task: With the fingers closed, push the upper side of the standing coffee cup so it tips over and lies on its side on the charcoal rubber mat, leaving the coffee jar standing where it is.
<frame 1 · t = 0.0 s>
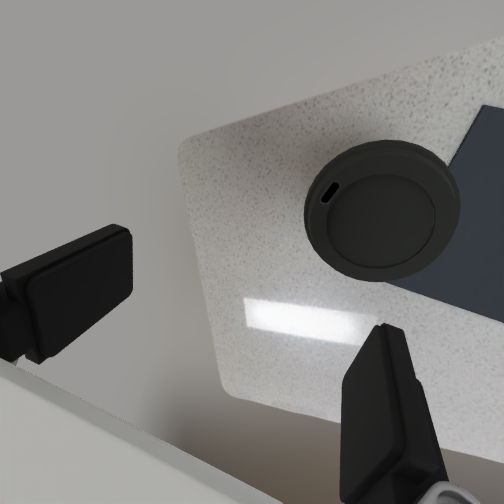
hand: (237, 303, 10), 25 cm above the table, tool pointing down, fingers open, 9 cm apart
coffee cup: (364, 179, 30), on the table
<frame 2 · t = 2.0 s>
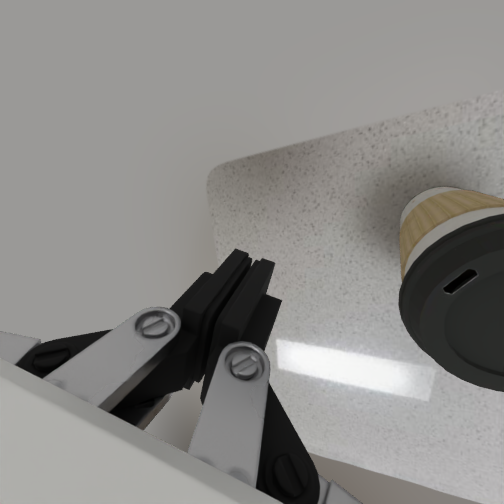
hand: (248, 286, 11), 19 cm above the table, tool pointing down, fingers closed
coffee cup: (436, 219, 25), on the table
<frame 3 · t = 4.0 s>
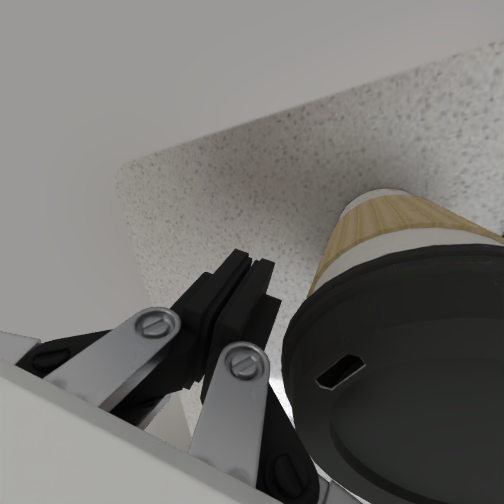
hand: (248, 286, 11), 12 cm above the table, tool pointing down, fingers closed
coffee cup: (380, 229, 20), on the table, touching gripper
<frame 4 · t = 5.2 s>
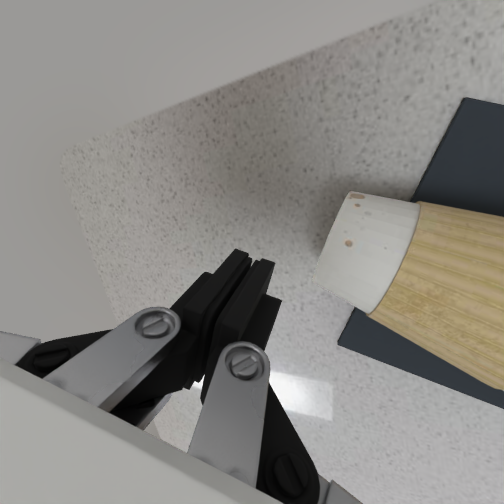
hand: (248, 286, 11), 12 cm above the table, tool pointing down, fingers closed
mat: (502, 286, 19), on the table
coffee cup: (328, 236, 17), point 4 cm above the table
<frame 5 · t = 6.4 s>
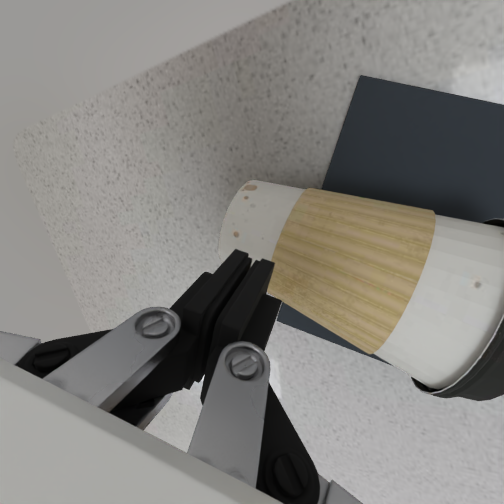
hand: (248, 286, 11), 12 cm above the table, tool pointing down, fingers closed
mat: (415, 258, 20), on the table
coffee cup: (240, 222, 19), point 4 cm above the table, touching mat
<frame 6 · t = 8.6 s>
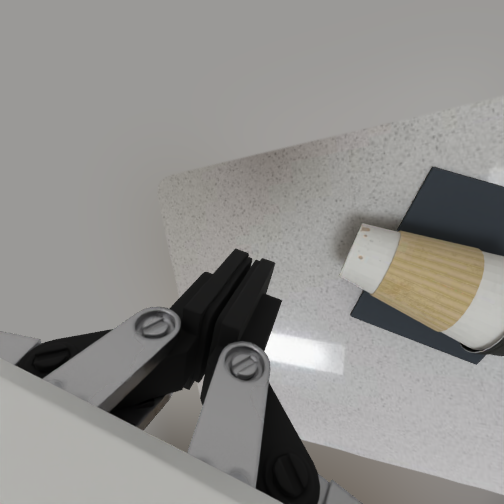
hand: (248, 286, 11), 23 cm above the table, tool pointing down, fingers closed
mat: (456, 275, 30), on the table
coffee cup: (348, 249, 29), point 4 cm above the table, touching mat
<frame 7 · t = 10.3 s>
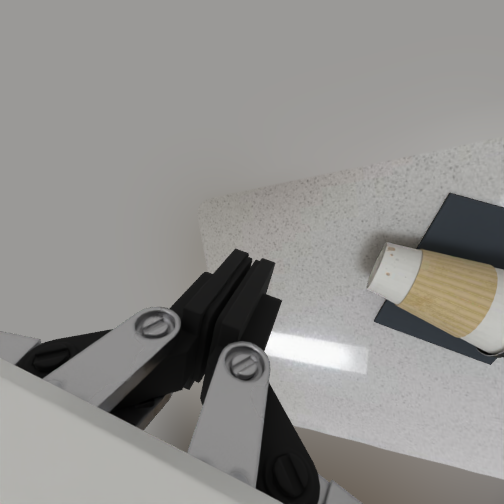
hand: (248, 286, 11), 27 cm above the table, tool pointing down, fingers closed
mat: (471, 286, 34), on the table
coffee cup: (374, 265, 33), point 4 cm above the table, touching mat
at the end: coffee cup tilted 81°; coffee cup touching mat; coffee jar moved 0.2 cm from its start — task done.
